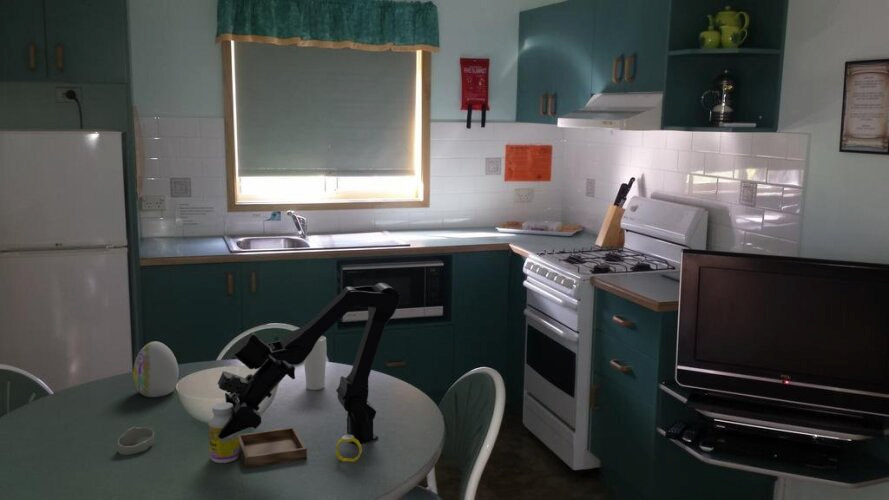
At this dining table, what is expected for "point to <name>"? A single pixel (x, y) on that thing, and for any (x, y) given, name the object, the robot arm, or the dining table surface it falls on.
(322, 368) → the drinking glass
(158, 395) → the decorative egg
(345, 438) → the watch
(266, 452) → the walnut tray
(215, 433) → the supplement bottle
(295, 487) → the dining table surface
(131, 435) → the grey hollow oval piece
